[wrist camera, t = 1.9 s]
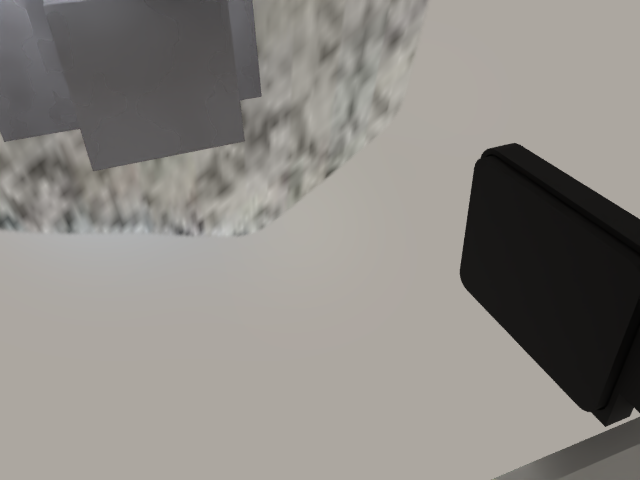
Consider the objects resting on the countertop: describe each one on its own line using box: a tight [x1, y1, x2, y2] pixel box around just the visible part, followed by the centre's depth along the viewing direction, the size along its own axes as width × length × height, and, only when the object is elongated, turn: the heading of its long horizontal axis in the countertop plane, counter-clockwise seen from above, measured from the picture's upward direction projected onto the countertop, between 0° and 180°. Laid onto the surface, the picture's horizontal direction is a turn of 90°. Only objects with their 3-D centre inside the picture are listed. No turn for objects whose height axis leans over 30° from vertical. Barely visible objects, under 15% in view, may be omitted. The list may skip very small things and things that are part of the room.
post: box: [43, 0, 245, 171], centre depth 24 cm, size 5×5×17 cm
